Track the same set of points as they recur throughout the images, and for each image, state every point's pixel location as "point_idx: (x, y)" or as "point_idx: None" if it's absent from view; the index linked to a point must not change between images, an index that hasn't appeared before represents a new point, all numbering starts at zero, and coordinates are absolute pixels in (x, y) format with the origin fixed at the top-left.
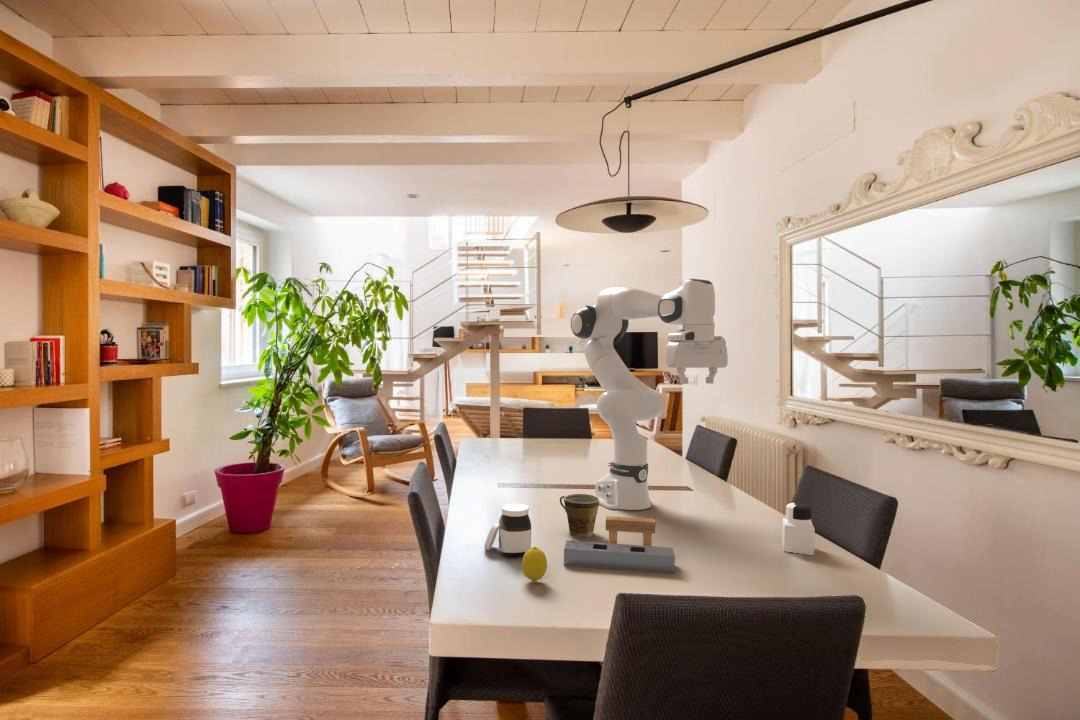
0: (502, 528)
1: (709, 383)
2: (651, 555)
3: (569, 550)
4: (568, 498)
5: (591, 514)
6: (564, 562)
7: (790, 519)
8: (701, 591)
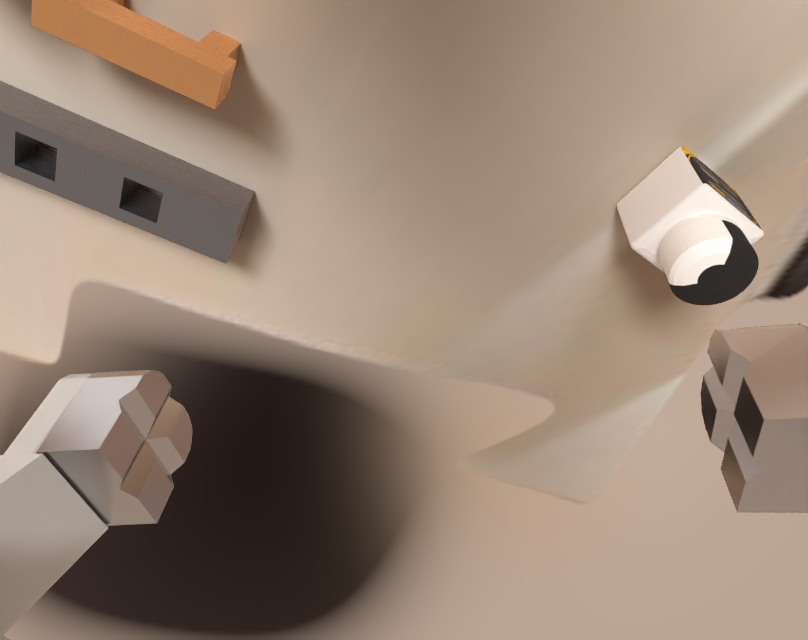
0: None
1: (709, 395)
2: (170, 240)
3: None
4: None
5: None
6: None
7: (660, 255)
8: (263, 319)
